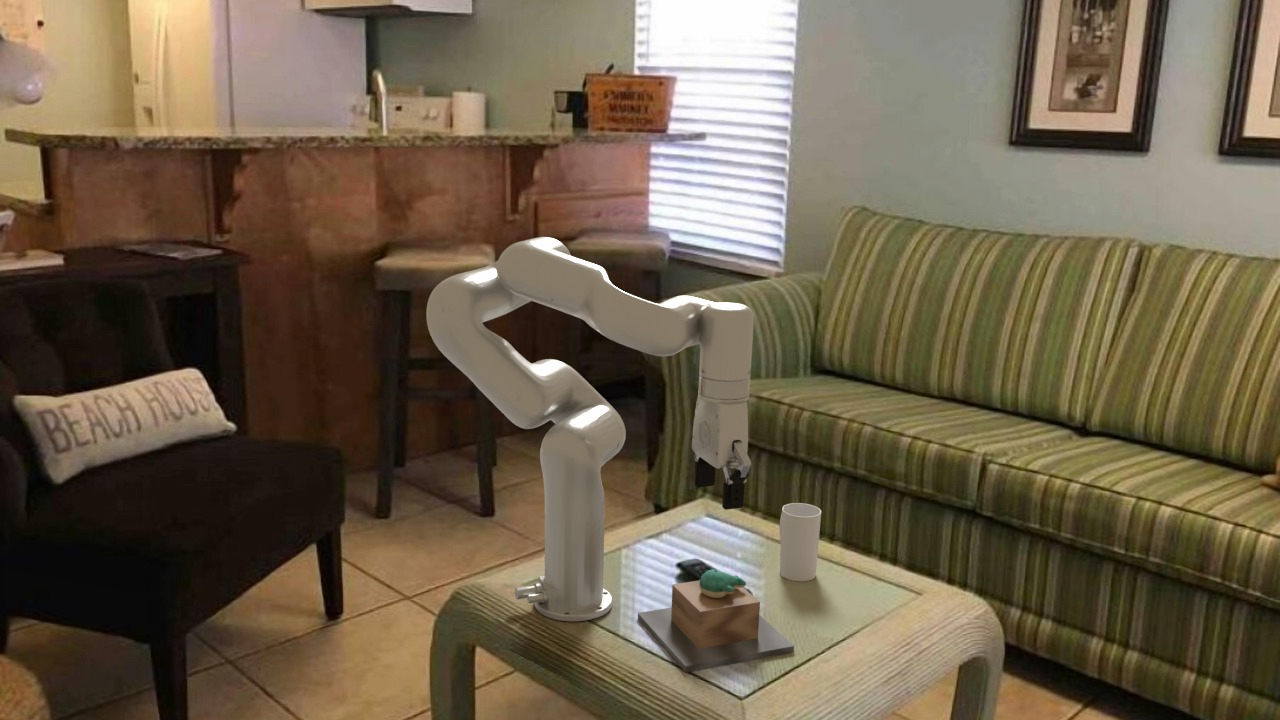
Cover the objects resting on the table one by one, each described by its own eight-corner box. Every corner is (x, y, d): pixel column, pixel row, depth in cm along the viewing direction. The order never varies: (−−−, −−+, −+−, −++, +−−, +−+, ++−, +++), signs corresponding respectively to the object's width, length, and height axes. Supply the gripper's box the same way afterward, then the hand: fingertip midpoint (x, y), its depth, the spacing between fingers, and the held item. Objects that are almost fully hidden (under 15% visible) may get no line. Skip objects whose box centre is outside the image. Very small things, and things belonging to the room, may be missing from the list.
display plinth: (685, 672, 160) (687, 628, 159) (637, 618, 176) (638, 577, 175) (793, 652, 167) (796, 609, 166) (738, 602, 183) (740, 562, 182)
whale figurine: (691, 588, 172) (692, 565, 171) (732, 580, 175) (733, 558, 174) (710, 604, 166) (712, 580, 166) (752, 595, 170) (753, 572, 169)
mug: (824, 579, 193) (828, 514, 190) (790, 584, 190) (794, 519, 188) (795, 557, 202) (799, 495, 199) (762, 562, 199) (766, 499, 197)
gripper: (677, 374, 170) (672, 480, 174) (727, 404, 154) (720, 520, 158) (721, 371, 173) (716, 476, 177) (774, 400, 157) (767, 514, 161)
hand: (718, 496), depth 167 cm, fingers open, 9 cm apart
